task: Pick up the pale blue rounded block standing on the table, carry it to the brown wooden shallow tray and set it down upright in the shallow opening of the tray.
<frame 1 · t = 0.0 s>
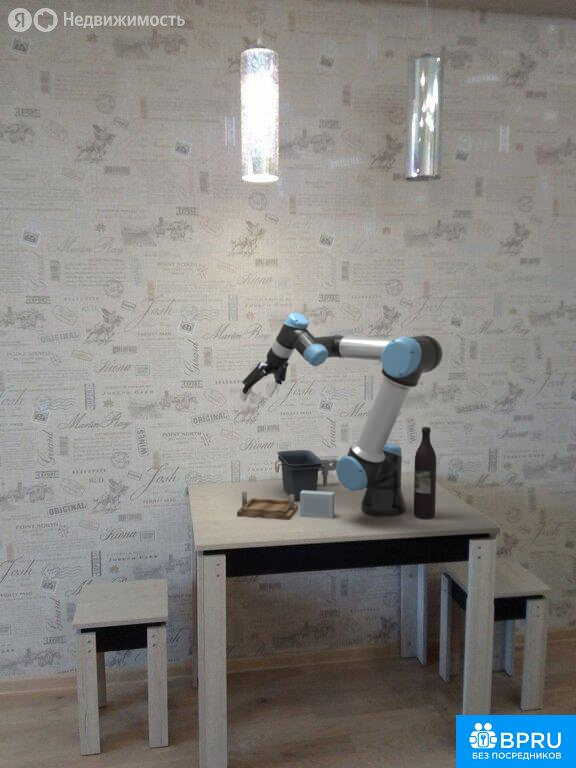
hand: (255, 397, 274), 36 cm above the table, tool tilted 35°, fingers open, 13 cm apart
brown wooden shallow tray: (268, 512, 255), on the table
pale blue rounded block: (317, 515, 251), on the table
mechanical component: (325, 486, 288), on the table
storage bin: (296, 495, 276), on the table
wine bottle: (424, 516, 250), on the table
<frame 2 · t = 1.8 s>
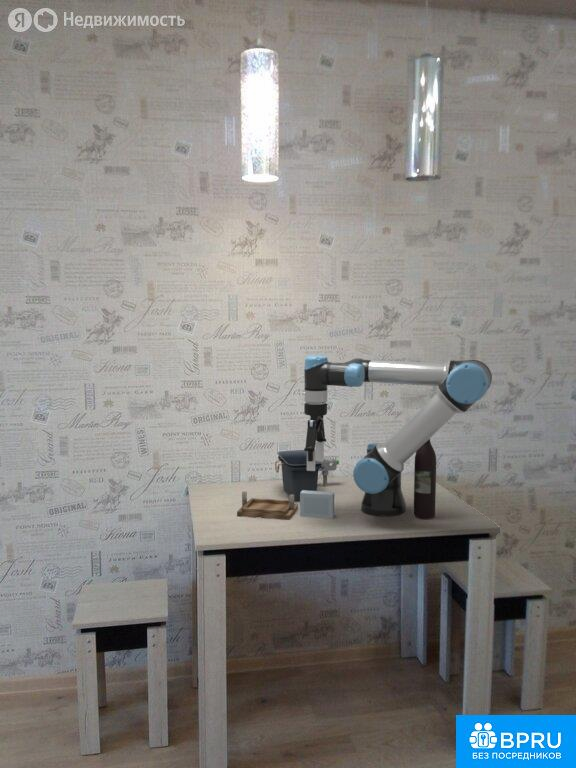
hand: (315, 465, 250), 17 cm above the table, tool pointing down, fingers open, 13 cm apart
nothing on the table moved.
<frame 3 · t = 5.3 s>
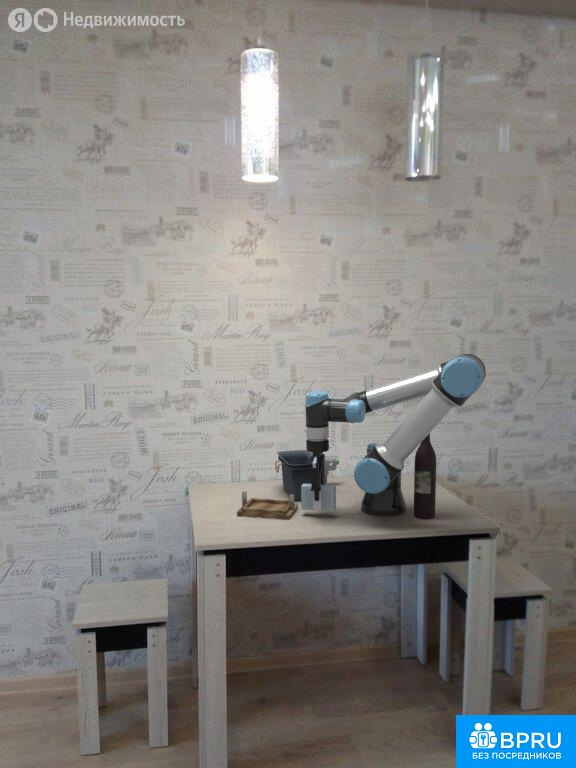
hand: (318, 507, 251), 3 cm above the table, tool pointing down, fingers closed on pale blue rounded block, 4 cm apart
pale blue rounded block: (318, 508, 251), point 2 cm above the table, touching gripper
everything else where it was.
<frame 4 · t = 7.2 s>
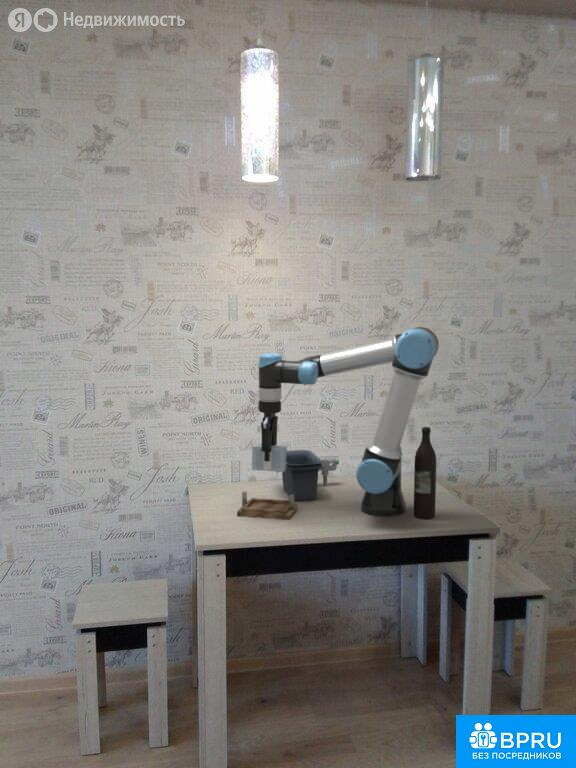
hand: (269, 468, 253), 15 cm above the table, tool pointing down, fingers closed on pale blue rounded block, 4 cm apart
pale blue rounded block: (269, 469, 253), point 15 cm above the table, touching gripper
everything else where it was.
when the fingers open (3 cm above the table, at t = 9.3 s): pale blue rounded block stays where it is, resting on brown wooden shallow tray.
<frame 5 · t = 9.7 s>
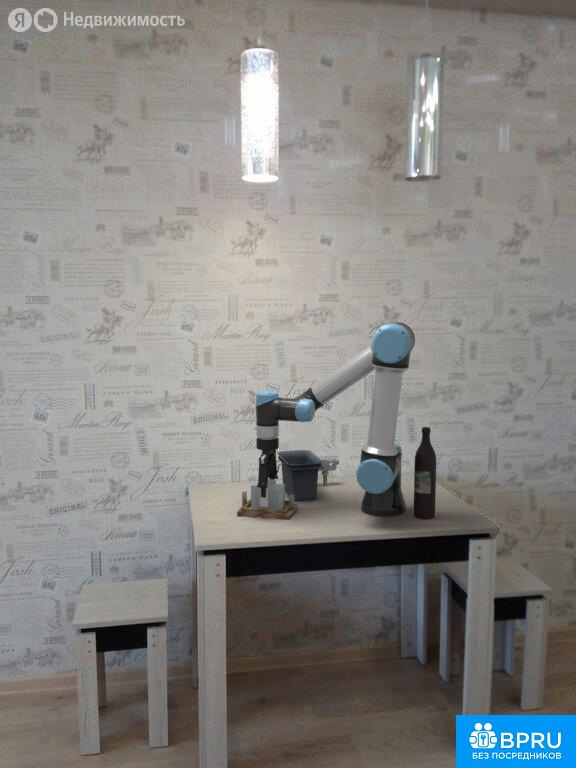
hand: (268, 501, 255), 4 cm above the table, tool pointing down, fingers open, 9 cm apart
pale blue rounded block: (268, 507, 255), point 1 cm above the table, touching brown wooden shallow tray
everything else where it was.
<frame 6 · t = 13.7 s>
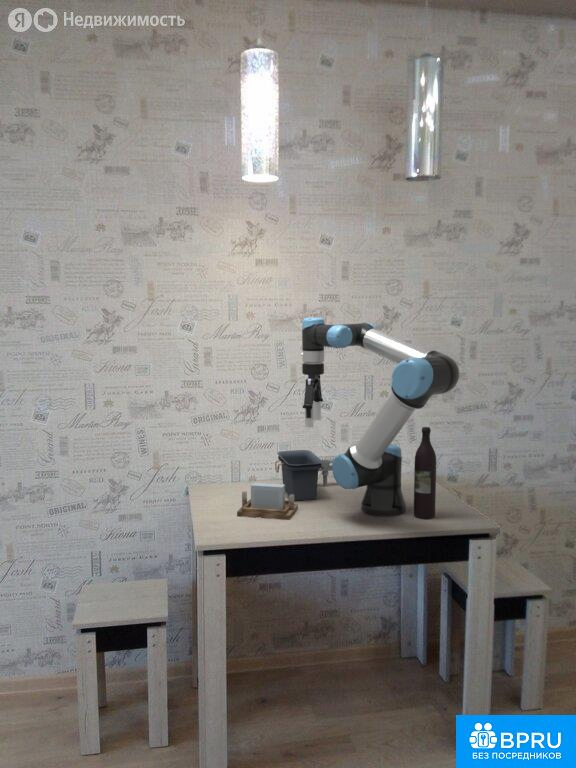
hand: (313, 423, 261), 29 cm above the table, tool pointing down, fingers open, 13 cm apart
nothing on the table moved.
at the end: pale blue rounded block inside the target area on the brown wooden shallow tray (0.0 cm from its centre), point 1.5 cm above the brown wooden shallow tray's base; pale blue rounded block tilted 0°; the gripper is holding nothing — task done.
